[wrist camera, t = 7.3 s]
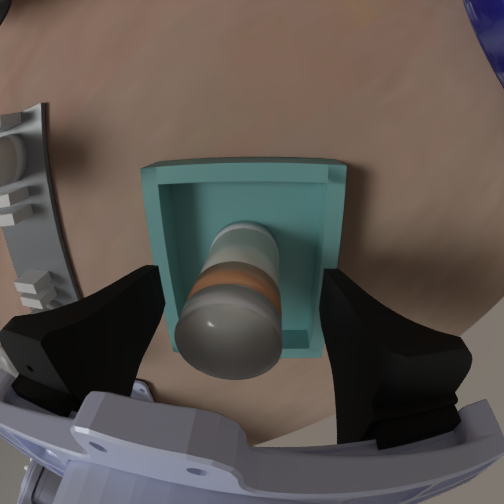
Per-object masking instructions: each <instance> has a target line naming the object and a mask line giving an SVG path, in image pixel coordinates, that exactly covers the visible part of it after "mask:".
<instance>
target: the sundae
mask: <svg viewBox="0 0 504 504" xmlns="http://www.w3.org/2000/svg"><path fill="white" fill-rule="evenodd" d="M10 2H11V0H0V24H1V22H2V21H3V19H4V17H5V15H6V13H7V11H8V8H9V6H10Z"/></svg>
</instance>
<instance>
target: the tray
mask: <svg viewBox="0 0 504 504" xmlns="http://www.w3.org/2000/svg"><path fill="white" fill-rule="evenodd" d="M140 170H141V179H142V189H143V197H144V205H145V212H146V219H147V226H148V233H149V239H150V245H151V251H152V257H153V262H154V265H158V266H159V272H160V277H161V282H162V287H163V292H164V297H165V302H166V304H165V308H164V315H165V319H166V323H167V327H168V331H169V335H170V339H171V343H172V347H173V350H174V352H179V351H178V349H177V347H176V344H175V339H174V332H175V327H176V325H177V322H178V320H179V317H180V315H181V313H182V310H183V308H184V305H185V303H186V300H187V298H188V296H189V294H190V291H191V289H192V287H193V285H194V282H195V280H196V279H197V277H198V276H199V275H200V273H201V270H202V268H203V266H204V263H205V261H206V259H207V257H208V255H209V251H210V248H211V245H212V243H213V241H214V239H215V237H216V235H217V233H218V232H219V231H220V230H221V229H222V228H223V227H224V226H226V225H228V224H230V223H232V222H235V221H240V220H249V221H254V222H257V223H259V224H262V225H263V226H265V227H266V228H267V229H269V230H270V231H271V233H272V234H273V235H274V237H275V239H276V241H277V243H278V248H279V266H278V269H279V291H280V294H281V307H282V344H283V348H282V354H281V356H280V358H318V357H321V356H322V351H323V346H324V341H325V340H324V336H323V333H322V328H321V322H320V314H319V303H320V296H321V288H322V280H323V272H324V268H327V269H337V263H338V256H339V248H340V239H341V230H342V221H343V210H344V199H345V186H346V170H347V166H346V165H345V164H343V163H341V162H339V161H337V160H336V159H321V158H297V157H225V158H201V159H184V160H170V161H158V162H156V163H153V164H150V165H148V166H145V167H143V168H140Z"/></svg>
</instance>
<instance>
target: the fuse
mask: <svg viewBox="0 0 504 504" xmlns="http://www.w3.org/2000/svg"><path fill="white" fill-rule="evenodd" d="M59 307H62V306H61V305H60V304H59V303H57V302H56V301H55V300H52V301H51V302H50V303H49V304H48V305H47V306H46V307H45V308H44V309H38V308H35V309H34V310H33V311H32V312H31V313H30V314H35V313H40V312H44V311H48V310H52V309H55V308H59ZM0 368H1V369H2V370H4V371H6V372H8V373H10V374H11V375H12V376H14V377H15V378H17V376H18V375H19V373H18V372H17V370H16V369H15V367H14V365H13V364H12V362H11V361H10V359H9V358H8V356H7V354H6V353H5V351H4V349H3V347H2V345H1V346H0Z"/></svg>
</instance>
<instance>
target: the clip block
mask: <svg viewBox="0 0 504 504" xmlns="http://www.w3.org/2000/svg"><path fill="white" fill-rule="evenodd" d="M13 133H16V134H19V135H20V136H21V137H22V138H23V140H24V142H25V145H26V148H27V167H26V171H25V174H24V175H23V177H22V178H21V179H20V180H19V181H17V182H15V183H12V184H10V185H7V186H3V187H1V188H0V226H2V228H3V232H4V235H5V239H6V243H7V246H8V249H9V253H10V256H11V259H12V262H13V265H14V268H15V271H16V274H17V276H18V279H17V280H16V281H14V283H15V286H16V289H17V291H20V292H24V293H23V294H22V295H21V296H20V298H21V301H22V303H23V305H24V306H29V307H30V309H31V311H33V310H34V309H35V308H38V309H44V308H45V307H46V306H47V305H48V304H49V303H50V302H51V301H52V300H55V301H56V302H57V303H59V304H60V305H61V306H65V305H67V304H70V303H73V302H76V301H78V300H81V297H80V294H79V291H78V288H77V285H76V282H75V279H74V276H73V273H72V270H71V266H70V263H69V260H68V256H67V252H66V249H65V245H64V241H63V237H62V233H61V229H60V224H59V220H58V215H57V210H56V205H55V200H54V194H53V189H52V182H51V176H50V168H49V160H48V151H47V139H46V124H45V103H40V104H38V105H35V106H33V107H31V108H29V109H27V110H24V111H22V112H18V113H11V114H4V115H0V137H1V136H4V135H9V134H13Z"/></svg>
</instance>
